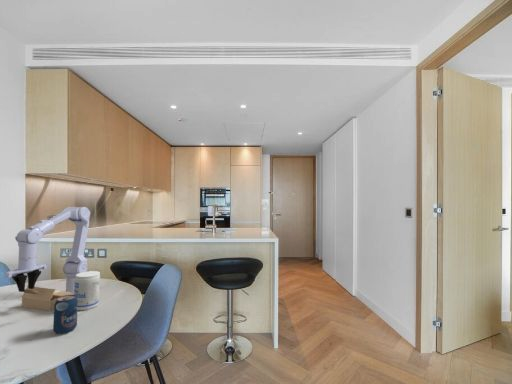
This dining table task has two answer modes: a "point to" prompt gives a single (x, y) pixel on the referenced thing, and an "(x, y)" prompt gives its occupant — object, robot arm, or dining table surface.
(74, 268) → the robot arm
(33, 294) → the far flap
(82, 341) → the dining table surface
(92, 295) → the supplement tub
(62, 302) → the soda can
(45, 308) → the carton
